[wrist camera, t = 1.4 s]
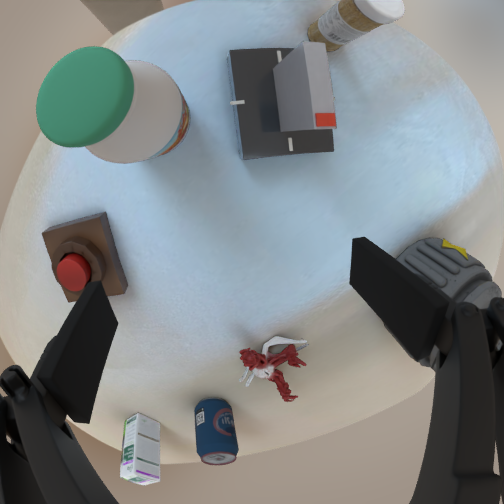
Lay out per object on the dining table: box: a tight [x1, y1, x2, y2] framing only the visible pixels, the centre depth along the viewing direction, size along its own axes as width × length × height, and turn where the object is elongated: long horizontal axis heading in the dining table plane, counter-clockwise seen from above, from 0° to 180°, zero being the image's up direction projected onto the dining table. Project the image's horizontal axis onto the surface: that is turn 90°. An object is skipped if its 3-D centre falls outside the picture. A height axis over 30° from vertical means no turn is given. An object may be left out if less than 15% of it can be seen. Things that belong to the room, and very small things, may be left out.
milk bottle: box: [36, 47, 190, 164], centre depth 17 cm, size 8×8×20 cm
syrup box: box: [120, 413, 161, 486], centre depth 38 cm, size 6×6×14 cm
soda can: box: [194, 398, 239, 465], centre depth 39 cm, size 7×7×12 cm
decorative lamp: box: [384, 238, 502, 372], centre depth 28 cm, size 19×19×30 cm
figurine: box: [239, 336, 309, 402], centre depth 38 cm, size 15×12×7 cm
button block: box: [42, 212, 128, 302], centre depth 28 cm, size 10×9×4 cm
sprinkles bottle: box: [308, 0, 405, 51], centre depth 18 cm, size 5×5×13 cm
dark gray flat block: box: [227, 48, 335, 160], centre depth 26 cm, size 12×11×3 cm
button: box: [57, 253, 91, 291], centre depth 26 cm, size 4×4×2 cm
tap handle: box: [273, 41, 336, 132], centre depth 20 cm, size 7×2×9 cm, turn 7°
